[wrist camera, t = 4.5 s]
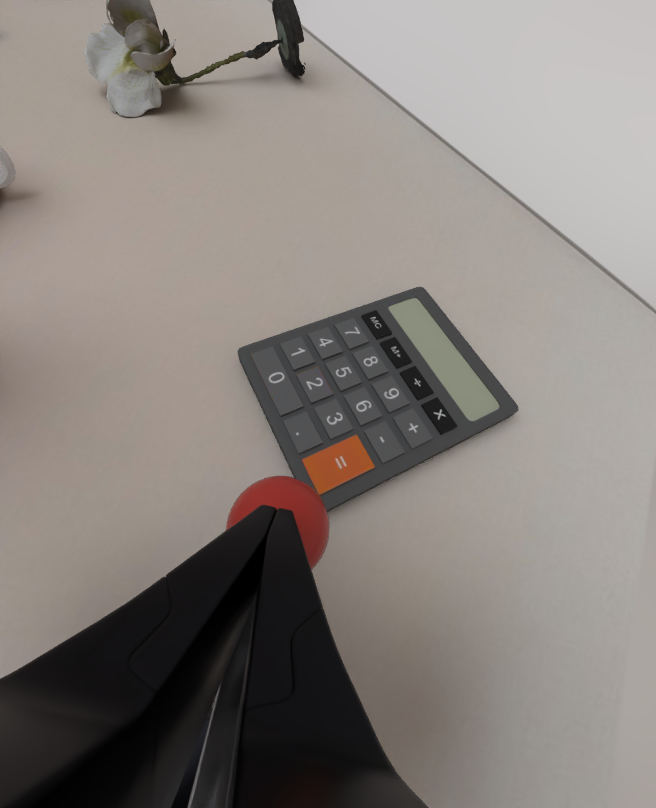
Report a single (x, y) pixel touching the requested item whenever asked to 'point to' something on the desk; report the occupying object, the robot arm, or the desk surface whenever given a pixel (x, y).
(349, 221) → the desk surface
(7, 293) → the desk surface
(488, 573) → the desk surface
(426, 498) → the desk surface
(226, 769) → the lever
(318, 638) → the robot arm
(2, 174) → the mug
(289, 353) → the calculator
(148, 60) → the artificial flower
